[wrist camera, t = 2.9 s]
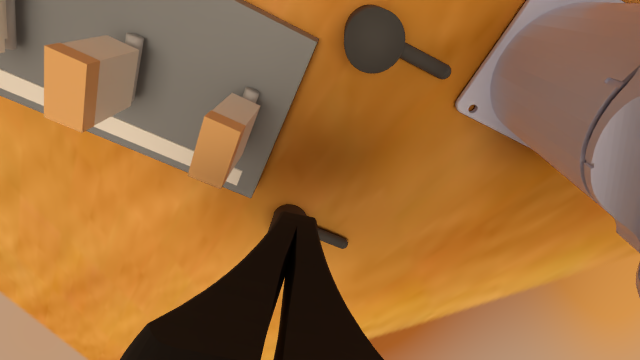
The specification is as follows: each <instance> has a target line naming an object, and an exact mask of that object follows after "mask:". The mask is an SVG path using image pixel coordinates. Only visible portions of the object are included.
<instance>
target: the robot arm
mask: <svg viewBox="0 0 640 360" xmlns="http://www.w3.org/2000/svg"><path fill="white" fill-rule="evenodd" d="M473 104H474V105H475V109H474V110H472V111H468V108H469V107H470V106H471V105H473ZM455 107H456V109H457V110H458V111H459V112H460V113H462V114H464V115H466V116H468V117H470V118H472V119H474V120H476V121H478V122H480V123H482V124H484V125H486V126H488V127H490V128H492V129H494V130H496V131H498V132H500V133H502V134H504V135H506V136H508V137H509V138H511V139H513V140H515V141H517V142H519V143H521V144H523V145H525V146H527V147H529V148H531V149H533V150H534V151H535V152H536V153H538V154H539V155H540V156H541V157H542V158H544V159H545V160H546V161H547V162H548V163H550V164H551V165H552V166H553V167H554V168H556V169H557V170H558V171H559V172H560V173H561V174H563V175H564V176H565V177H566V178H567V179H569V180H570V181H571V182H572V183H573V184H575V185H576V186H577V187H578V188H579V189H581V190H582V191H583V192H584V193H585V194H587V195H588V196H589V197H590V198H591V199H593V200H594V201H595V202H596V203H598V204H599V205H600V206H601V207H602V208H603V209H605V210H606V211H607V212H608V213H609V214H610V215H612V216H613V217H614V219H615V221H616V225H617V229H616V232H617V233H618V234H619V235H620V236H621V237H622V238H623V239H625V240H626V241H627V242H628V243H629V244H630V245H631V246H632V247H634V248H635V249H636V250H637V251H638V252H639V253H640V4H638V3H625V2H623V1H621V0H526V2H525V3H524V5H523V6H522V8H521V9H520V10H519V12H518V13H517V15H516V16H515V18H514V19H513V20H512V22H511V23H510V25H509V26H508V28H507V29H506V30H505V32H504V33H503V35H502V36H501V38H500V39H499V40H498V42H497V43H496V45H495V46H494V48H493V49H492V50H491V52H490V53H489V55H488V56H487V58H486V59H485V60H484V62H483V63H482V65H481V66H480V68H479V69H478V70H477V72H476V73H475V75H474V76H473V78H472V79H471V80H470V82H469V83H468V85H467V86H466V88H465V89H464V90H463V92H462V93H461V95H460V96H459V98H458V99H457V101H456V103H455ZM284 278H285V281H284ZM283 281H284V290H283V299H282V308H281V317H280V326H279V333H278V340H277V345H276V350H275V355H274V360H384V359H383V358H382V357H381V356H380V354H379V353H378V352H377V351H376V350H375V348H374V347H373V346H372V344H371V343H370V341H369V340H368V339H367V337H366V336H365V334H364V333H363V332H362V330H361V328H360V327H359V325H358V324H357V322H356V321H355V319H354V317H353V316H352V314H351V313H350V311H349V309H348V308H347V306H346V304H345V302H344V300H343V298H342V297H341V295H340V293H339V291H338V289H337V286H336V284H335V282H334V280H333V277H332V275H331V272H330V270H329V267H328V265H327V262H326V259H325V256H324V253H323V250H322V246H321V243H320V239H319V234H318V229H317V221H316V219H315V218H313V217H308V216H304V215H299V214H294V213H290V212H285V211H283V212H281V213H280V215H279V217H278V219H277V220H276V222H275V223H274V225H273V226H272V228H271V229H270V230H269V232H268V233H267V234H266V235H265V236H264V238H263V239H262V240H261V241H260V242H259V244H258V245H257V246H256V247H255V248H254V249H253V250H252V251H251V252H250V253H249V254H248V255H247V256H246V257H245V258H244V259H243V260H242V261H241V262H240V263H239V264H238V265H236V266H235V267H234V268H233V269H232V270H231V271H229V272H228V273H227V274H226V275H225V276H223V277H222V278H221V279H219V280H218V281H217V282H216V283H214V284H213V285H211V286H210V287H209V288H207V289H206V290H204V291H203V292H201V293H200V294H198V295H197V296H195V297H194V298H192V299H190V300H189V301H187V302H186V303H184V304H183V305H181V306H179V307H177V308H176V309H174V310H172V311H170V312H168V313H166V314H165V315H163V316H161V317H159V318H157V319H155V320H153V321H152V322H150V323H148V324H147V325H146V326H145V327H144V329H143V330H142V331H141V332H140V333H139V334H138V335H137V337H136V338H135V339H134V341H133V342H132V343H131V344H130V346H129V347H128V348H127V350H126V351H125V352H124V354H123V356H122V357H121V359H120V360H261V355H262V351H263V347H264V342H265V338H266V335H267V331H268V327H269V324H270V321H271V318H272V315H273V312H274V309H275V306H276V303H277V299H278V296H279V293H280V290H281V287H282V284H283ZM636 286H637V289H638V294H639V297H640V263H639V266H638V269H637V273H636Z"/></svg>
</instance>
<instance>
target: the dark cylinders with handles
mask: <svg viewBox="0 0 640 360" xmlns="http://www.w3.org/2000/svg"><path fill="white" fill-rule="evenodd" d="M344 47H345V52H346V55H347V58H348V59H349V61H350V62H351V64H352V65H353V66H354V67H356V68H357V69H358V70H360V71H363V72H366V73H379V72H382V71H385V70H387V69H389V68H390V67H391V66H393V65H394V64H395V63H396V62H397V60H398V59H399V58H401V59H403V60H405V61H407V62H409V63H411V64H413V65H415V66H417V67H419V68H420V69H422V70H424V71H426V72H428V73H430V74H432V75H434V76H436V77H438V78H440V79H446V78H448V77H449V76H450V74H451V68H450V67H449V66H448V65H447V64H445V63H443V62H441V61H439V60H437V59H435V58H433V57H432V56H430V55H428V54H426V53H424V52H422V51H420V50H418V49H417V48H415V47H413V46H411V45H409V44H407V43H405V32H404V28H403V25H402V23H401V22H400V20H399V19H398V17H397V16H396V15H394V14H393V13H392V12H390V11H388V10H386V9H383V8H381V7H378V6H376V5H364V6H361V7H359V8H357V9H356V10H355V11H354V12H353V13H352V14H351V15H350V16H349V18H348V20H347V22H346V25H345V34H344ZM283 211H285V212H290V213H294V214H299V215H304V216H306V214H305V212H304V211H303V210H302V209H301V208H299V207H297V206H294V205H283V206H280V207H279V208H277V209H276V211H275V212H274V215H273V218H272V221H271V224H270V227H269V230H270V229H271V228H272V226H273V225H274V223H275V222H276V220H277V219H278V217H279V215H280V213H281V212H283ZM317 229H318V234H319V239H320V240H321V241H324V242H326V243H329V244H331V245H334V246H336V247H339V248H341V249H344V248H346V247H347V245H348V242H347V240H346V239H344V238H342V237H339V236H337V235H334V234H332V233H330V232H327V231H325V230H322V229H320V228H317ZM269 230H268V232H269Z"/></svg>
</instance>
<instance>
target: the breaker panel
mask: <svg viewBox="0 0 640 360" xmlns="http://www.w3.org/2000/svg"><path fill="white" fill-rule="evenodd" d="M15 14H16V41H17V49H14V50H9V49H5V52H4V53H0V96H2V97H5V98H7V99H10V100H12V101H15V102H17V103H20V104H22V105H24V106H27V107H29V108H32V109H34V110H37V111H39V112H41V113H44V45H50V44H55V43H65V42H71V41H77V40H82V39H88V38H94V37H99V36H105V35H108V36H110V37H112V38H114V39H116V40H119V41H121V42H123V43H125V40H126V33H134V34H137V35H140V36H141V37H143V38H144V41H143V48H142V54H141V60H140V67H139V73H138V80H137V86H136V92H135V99H134V101H132V102H131V106H130V107H128V108H126V109H125V110H123V111H121V112H119V113H117V114H115V115H113V116H111V117H109V118H107V119H106V120H104V121H102V122H100V123H98V124H96V125H94V127H92V128H90V129H88V130H86V131H88V132H90V133H93V134H95V135H98V136H100V137H102V138H105V139H107V140H110V141H112V142H115V143H117V144H120V145H122V146H124V147H127V148H129V149H132V150H134V151H137V152H139V153H142V154H144V155H146V156H149V157H151V158H154V159H156V160H159V161H161V162H163V163H166V164H168V165H171V166H173V167H176V168H178V169H181V170H183V171H185V172H189V168H190V165H191V161H192V158H193V154H194V151H195V147H196V144H197V140H198V137H199V133H200V130H201V126H202V122H203V119H204V116H205V115H206V114H207V113H208V112H210V111H211V110H213V109H214V108H215V107H216V106H217V105H219V104H220V103H221V102H222V101H223V100H224V99H225V98H227V97H228V96H229V95H230V94H231V93H234V94H236V95H238V96H240V97H242V96H243V93H244V91H245V88H246V87H250V88H253V89H255V90H257V91H258V92H259V96H258V99H257V101H256V104H258V105H260V109H259V111H258V114H257V117H256V119H255V122H254V125H253V127H252V130H251V133H250V135H249V138H248V141H247V143H246V146H245V149H244V152H243V154H242V156H241V157H240V159H239V161H238V162H237V164H236V165H235V167H234V168H233V170H232V171H231V173H230V175H229V176H228V178H227V180H226V182H225V183H224V185H223V186H222V187H224V188H227V189H229V190H232V191H234V192H237V193H239V194H242V195H244V196H246V197H249V198H251V197H252V195H253V193H254V191H255V189H256V186H257V184H258V182H259V179H260V177H261V175H262V172H263V170H264V167H265V165H266V163H267V160H268V158H269V156H270V153H271V151H272V149H273V146H274V144H275V142H276V139H277V137H278V135H279V132H280V130H281V127H282V125H283V123H284V120H285V118H286V116H287V113H288V111H289V109H290V106H291V104H292V102H293V99H294V97H295V94H296V92H297V90H298V87H299V85H300V83H301V80H302V78H303V76H304V73H305V71H306V69H307V66H308V64H309V62H310V59H311V57H312V54H313V52H314V50H315V47H316V45H317V43H318V40H319V39H318V38H316V37H314V36H313V35H311V34H309V33H307V32H305V31H303V30H301V29H299V28H297V27H295V26H293V25H291V24H289V23H287V22H285V21H283V20H281V19H279V18H277V17H275V16H273V15H271V14H269V13H267V12H265V11H264V10H262V9H260V8H258V7H256V6H254V5H252V4H250V3H248V2H246V1H244V0H15Z"/></svg>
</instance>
